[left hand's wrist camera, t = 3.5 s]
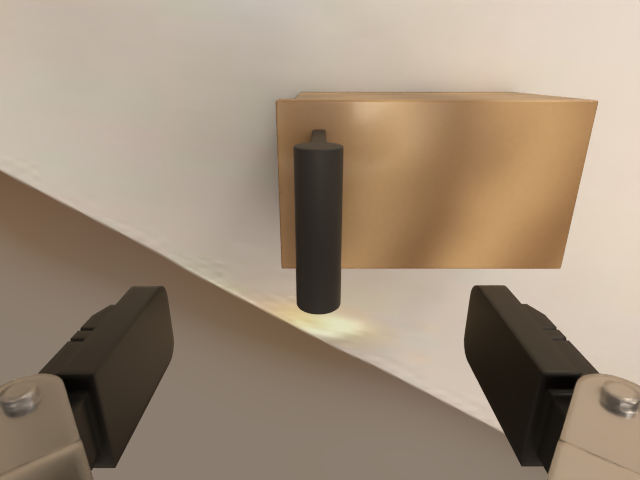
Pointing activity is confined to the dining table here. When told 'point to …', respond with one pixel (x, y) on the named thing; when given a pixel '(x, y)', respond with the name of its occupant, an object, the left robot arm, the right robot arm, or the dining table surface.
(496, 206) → the lid
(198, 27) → the dining table surface
